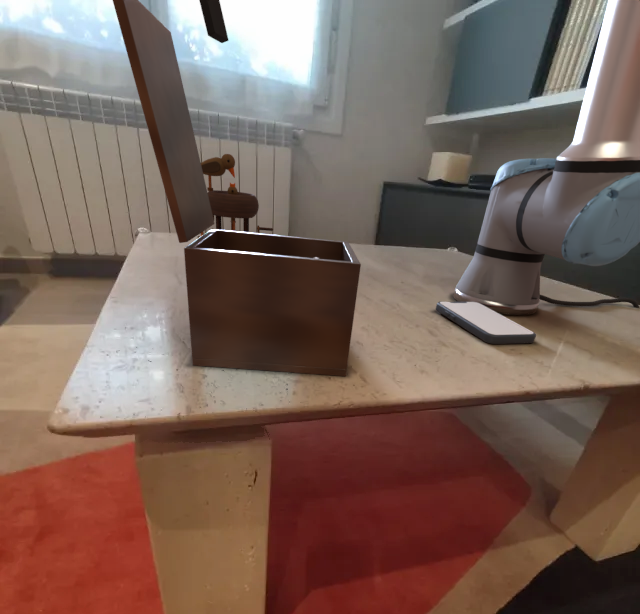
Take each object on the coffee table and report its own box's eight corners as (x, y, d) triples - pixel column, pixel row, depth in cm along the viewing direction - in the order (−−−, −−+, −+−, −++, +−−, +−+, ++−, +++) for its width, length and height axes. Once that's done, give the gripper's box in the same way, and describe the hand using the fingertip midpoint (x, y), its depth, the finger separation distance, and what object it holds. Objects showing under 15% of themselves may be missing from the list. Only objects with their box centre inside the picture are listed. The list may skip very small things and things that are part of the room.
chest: (337, 334, 58) (348, 241, 52) (345, 376, 46) (360, 264, 40) (215, 324, 57) (211, 228, 50) (192, 365, 45) (183, 247, 39)
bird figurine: (195, 281, 74) (185, 146, 65) (191, 272, 84) (183, 153, 74) (279, 282, 79) (281, 157, 70) (267, 274, 88) (268, 161, 79)
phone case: (537, 345, 62) (474, 310, 75) (541, 335, 62) (477, 301, 74) (487, 346, 60) (431, 310, 72) (490, 336, 59) (433, 300, 72)
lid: (170, 31, 41) (162, 32, 41) (118, -21, 30) (107, -19, 30) (214, 224, 50) (208, 225, 50) (187, 242, 39) (179, 243, 39)
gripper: (24, -353, 28) (145, 48, 38) (393, -694, 20) (427, -70, 30) (101, -259, 35) (189, 66, 44) (408, -490, 26) (433, -28, 36)
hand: (285, 12), depth 37 cm, fingers open, 13 cm apart
